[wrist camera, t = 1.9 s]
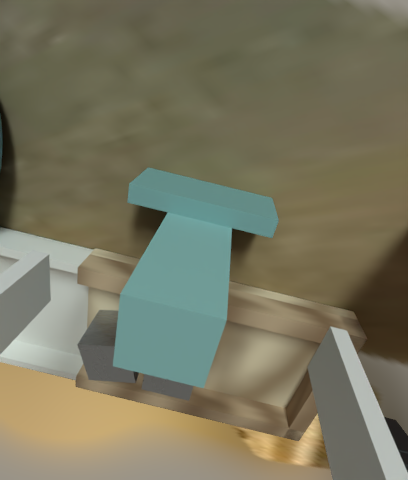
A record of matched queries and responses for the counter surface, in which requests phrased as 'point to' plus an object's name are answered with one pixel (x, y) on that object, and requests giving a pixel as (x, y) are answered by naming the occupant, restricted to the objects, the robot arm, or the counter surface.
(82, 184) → the counter surface
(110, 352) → the block
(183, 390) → the block
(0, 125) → the teapot
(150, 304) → the rake tool
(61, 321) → the tray
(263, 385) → the slot board
